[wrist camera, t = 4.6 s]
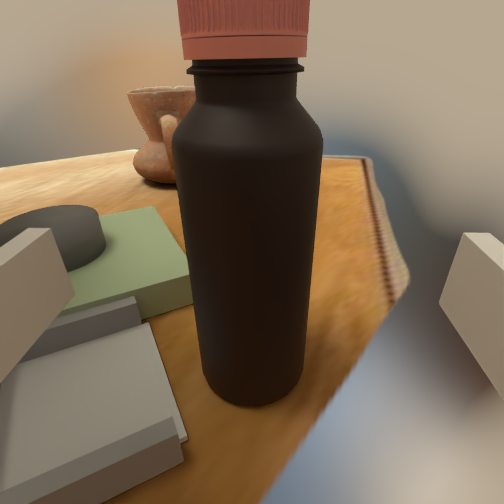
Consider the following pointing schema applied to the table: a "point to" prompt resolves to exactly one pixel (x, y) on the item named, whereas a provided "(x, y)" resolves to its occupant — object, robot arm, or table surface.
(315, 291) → the table surface
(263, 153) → the vinegar
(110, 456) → the green slab with knob
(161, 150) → the ceramic jug
